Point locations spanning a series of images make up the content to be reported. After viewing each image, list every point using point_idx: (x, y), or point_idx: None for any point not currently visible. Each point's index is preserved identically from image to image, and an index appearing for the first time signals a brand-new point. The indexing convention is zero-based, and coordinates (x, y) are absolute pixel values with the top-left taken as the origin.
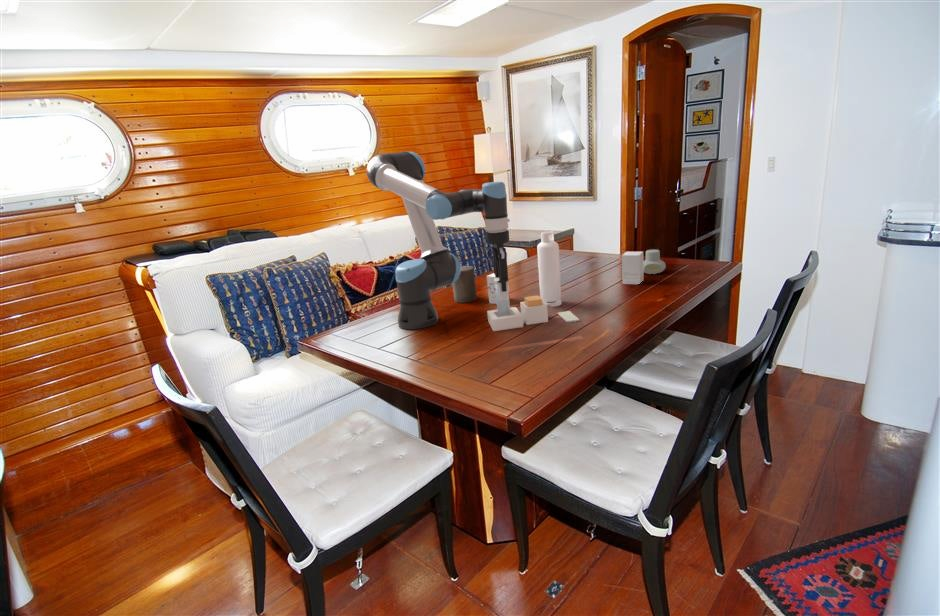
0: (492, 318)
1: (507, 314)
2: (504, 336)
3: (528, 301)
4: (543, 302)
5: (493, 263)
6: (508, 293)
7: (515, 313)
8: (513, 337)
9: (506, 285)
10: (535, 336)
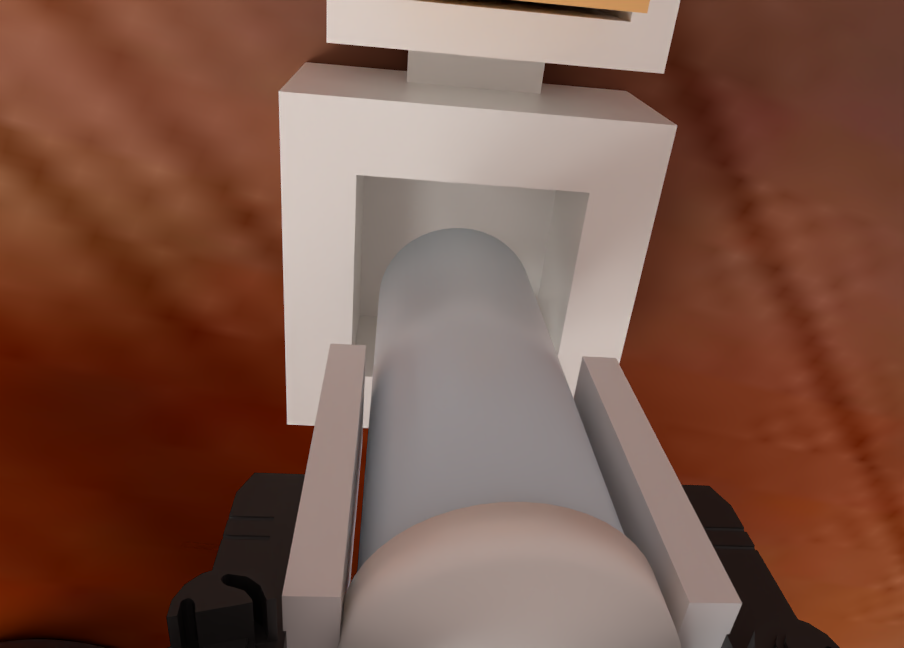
0: None
1: (358, 209)
2: (677, 300)
3: (646, 2)
4: None
5: None
6: (539, 369)
7: (545, 179)
8: (749, 241)
9: (697, 541)
10: (870, 47)
